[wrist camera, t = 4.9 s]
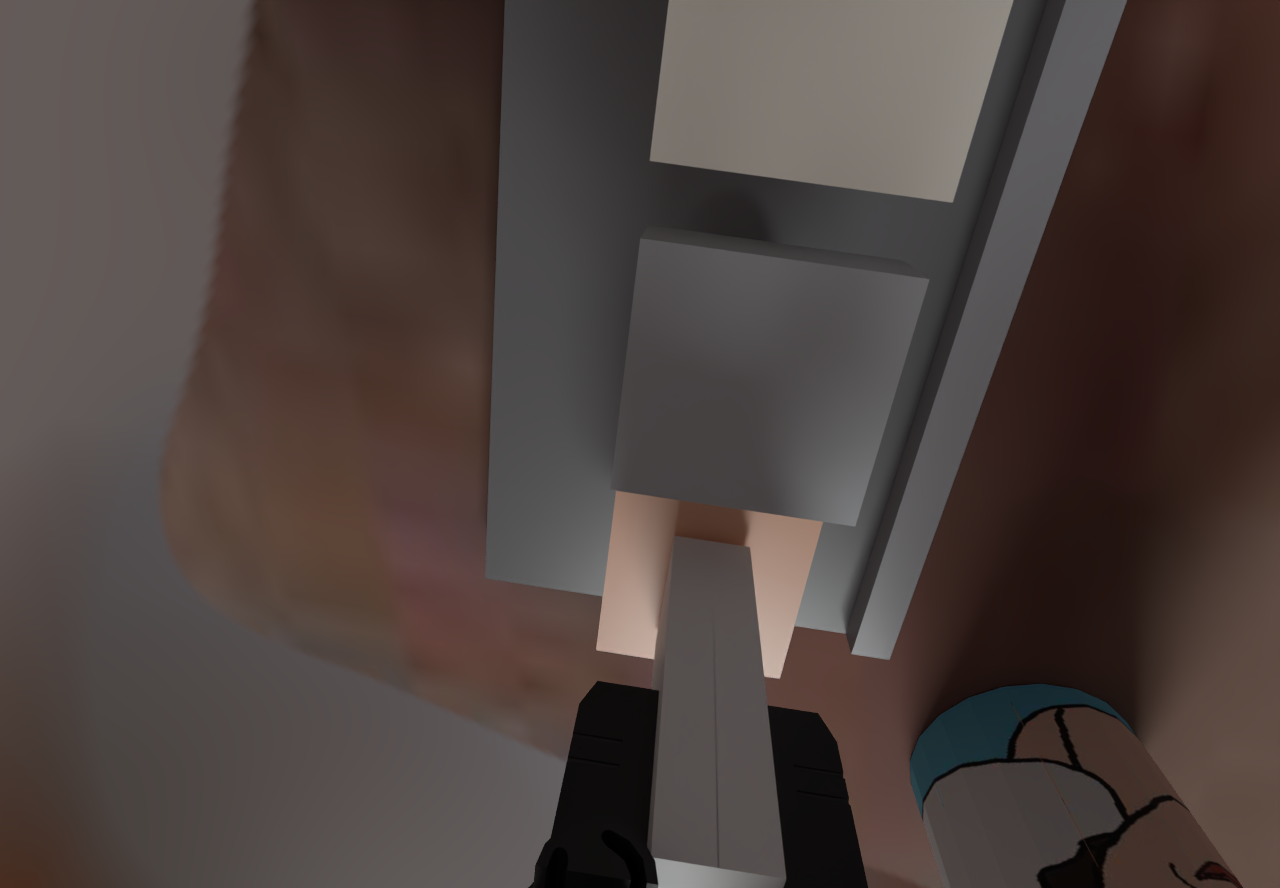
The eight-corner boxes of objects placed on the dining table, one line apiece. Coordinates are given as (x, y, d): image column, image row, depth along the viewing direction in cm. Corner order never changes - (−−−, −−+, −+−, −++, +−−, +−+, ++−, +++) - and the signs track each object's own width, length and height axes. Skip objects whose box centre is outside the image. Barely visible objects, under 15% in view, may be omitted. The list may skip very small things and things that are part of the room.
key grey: (647, 224, 11) (640, 238, 10) (903, 259, 11) (929, 278, 10) (619, 452, 13) (610, 489, 11) (839, 485, 12) (855, 525, 11)
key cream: (698, -186, 9) (697, -238, 7) (1017, -146, 9) (1070, -192, 7) (656, 156, 10) (649, 161, 9) (922, 192, 10) (952, 202, 9)
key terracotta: (623, 458, 15) (616, 489, 13) (813, 486, 15) (823, 520, 13) (604, 609, 16) (596, 650, 15) (774, 635, 16) (779, 678, 15)
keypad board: (528, -197, 13) (491, -263, 11) (1118, -123, 13) (1206, -175, 11) (497, 554, 20) (470, 607, 18) (872, 611, 20) (894, 673, 18)
